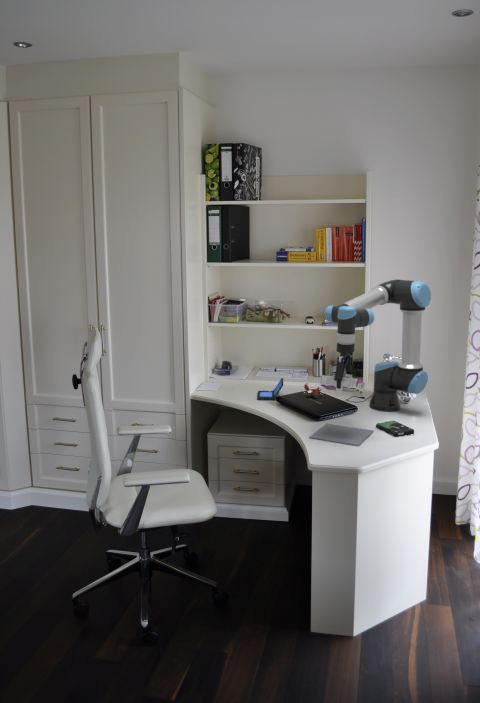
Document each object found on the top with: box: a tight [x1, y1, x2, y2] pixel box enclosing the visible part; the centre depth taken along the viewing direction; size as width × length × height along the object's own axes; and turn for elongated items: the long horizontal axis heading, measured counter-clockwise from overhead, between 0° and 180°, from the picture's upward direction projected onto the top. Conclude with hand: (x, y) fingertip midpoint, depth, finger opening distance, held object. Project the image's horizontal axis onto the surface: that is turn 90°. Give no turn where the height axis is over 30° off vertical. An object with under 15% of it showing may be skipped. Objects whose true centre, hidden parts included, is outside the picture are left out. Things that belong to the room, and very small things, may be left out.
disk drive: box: [375, 420, 415, 438], centre depth 302 cm, size 10×3×15 cm
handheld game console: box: [256, 377, 284, 402], centre depth 356 cm, size 16×13×9 cm
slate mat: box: [308, 422, 374, 447], centre depth 295 cm, size 22×22×1 cm
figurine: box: [303, 382, 324, 395], centre depth 355 cm, size 15×12×7 cm
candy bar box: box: [319, 374, 365, 394], centre depth 291 cm, size 11×5×16 cm
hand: (343, 392), depth 291 cm, fingers closed on candy bar box, 12 cm apart
